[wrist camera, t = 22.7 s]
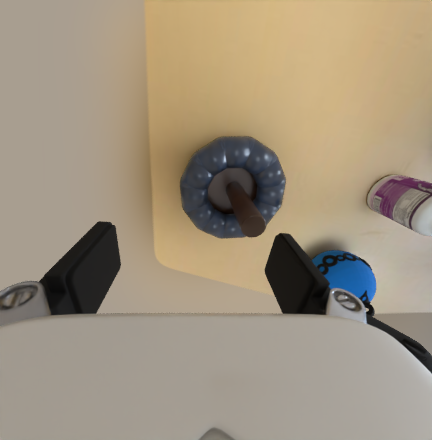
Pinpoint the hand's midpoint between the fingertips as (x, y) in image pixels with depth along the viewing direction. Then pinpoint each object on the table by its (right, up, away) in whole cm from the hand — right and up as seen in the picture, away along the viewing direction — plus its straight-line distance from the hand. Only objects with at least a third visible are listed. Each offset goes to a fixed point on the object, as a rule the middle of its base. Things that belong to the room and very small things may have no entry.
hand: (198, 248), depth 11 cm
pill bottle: (+24, +6, +15) cm, 29 cm away
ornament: (+18, -5, +20) cm, 28 cm away
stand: (+3, +6, +12) cm, 14 cm away
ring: (+3, +5, +10) cm, 11 cm away
